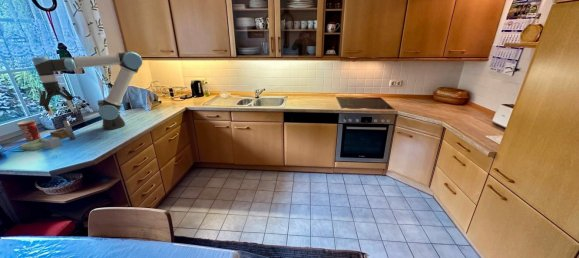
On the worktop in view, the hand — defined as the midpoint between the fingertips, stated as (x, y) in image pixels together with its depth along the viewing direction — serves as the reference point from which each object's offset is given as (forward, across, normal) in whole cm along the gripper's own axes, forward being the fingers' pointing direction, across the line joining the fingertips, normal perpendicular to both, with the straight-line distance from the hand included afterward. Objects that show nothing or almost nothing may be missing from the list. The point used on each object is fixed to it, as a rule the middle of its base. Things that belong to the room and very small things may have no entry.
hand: (62, 112), depth 164 cm
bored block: (+21, -3, -13) cm, 25 cm away
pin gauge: (+21, -1, -1) cm, 21 cm away
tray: (+20, +13, -13) cm, 27 cm away
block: (+21, +12, -1) cm, 24 cm away
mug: (+21, +3, -30) cm, 36 cm away
